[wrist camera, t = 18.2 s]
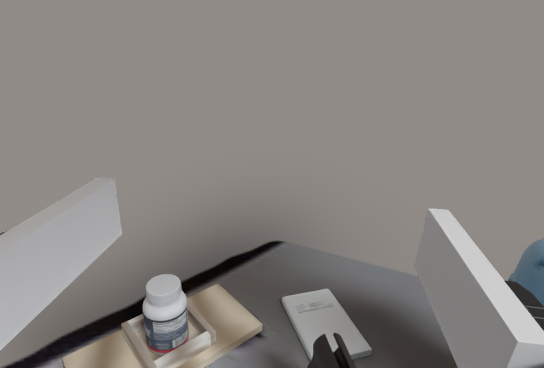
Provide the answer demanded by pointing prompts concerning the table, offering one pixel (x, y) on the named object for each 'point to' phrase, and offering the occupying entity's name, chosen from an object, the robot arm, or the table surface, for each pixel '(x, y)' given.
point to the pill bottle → (165, 314)
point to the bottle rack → (188, 357)
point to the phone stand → (330, 354)
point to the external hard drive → (323, 322)
